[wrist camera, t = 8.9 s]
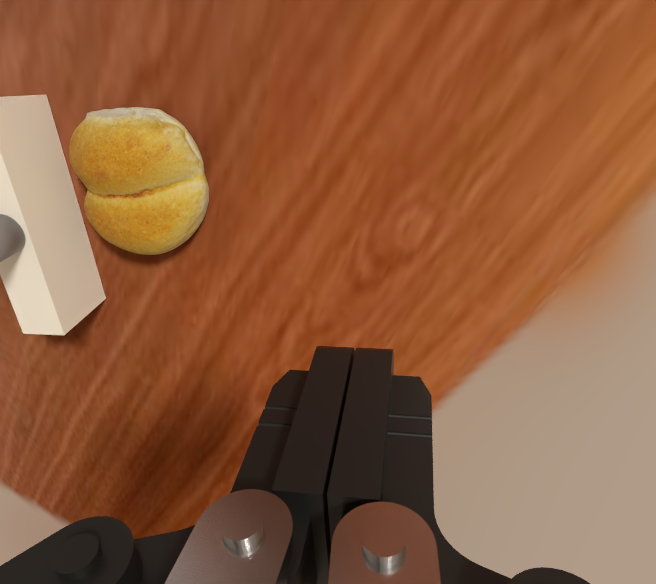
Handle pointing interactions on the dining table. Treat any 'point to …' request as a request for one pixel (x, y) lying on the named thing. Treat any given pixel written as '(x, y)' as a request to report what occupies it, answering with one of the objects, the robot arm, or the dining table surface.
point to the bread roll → (140, 178)
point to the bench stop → (42, 224)
